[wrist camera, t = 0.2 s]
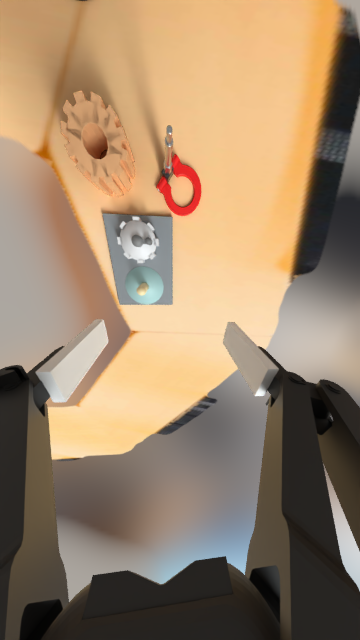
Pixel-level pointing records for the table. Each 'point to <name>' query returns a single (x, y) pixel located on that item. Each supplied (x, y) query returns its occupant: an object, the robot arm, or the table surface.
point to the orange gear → (98, 144)
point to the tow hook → (179, 170)
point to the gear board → (138, 242)
